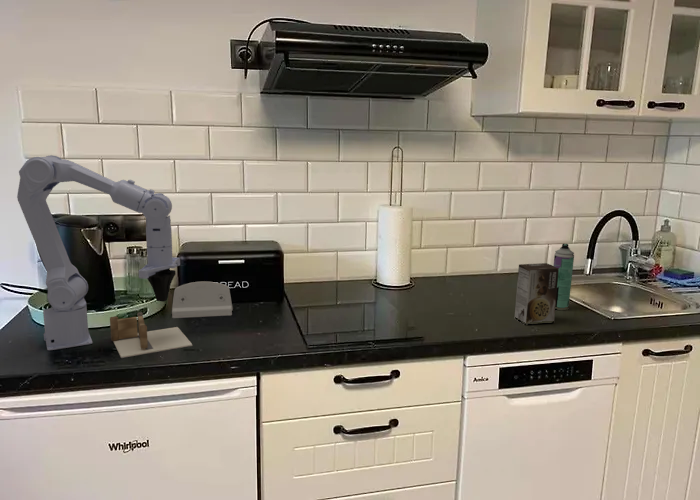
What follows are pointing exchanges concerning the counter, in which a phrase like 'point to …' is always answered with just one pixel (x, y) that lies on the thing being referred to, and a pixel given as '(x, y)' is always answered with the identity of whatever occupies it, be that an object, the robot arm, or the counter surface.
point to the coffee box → (536, 292)
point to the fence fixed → (123, 328)
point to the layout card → (153, 342)
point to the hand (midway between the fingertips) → (161, 300)
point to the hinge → (201, 300)
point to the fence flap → (142, 331)
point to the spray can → (563, 275)
